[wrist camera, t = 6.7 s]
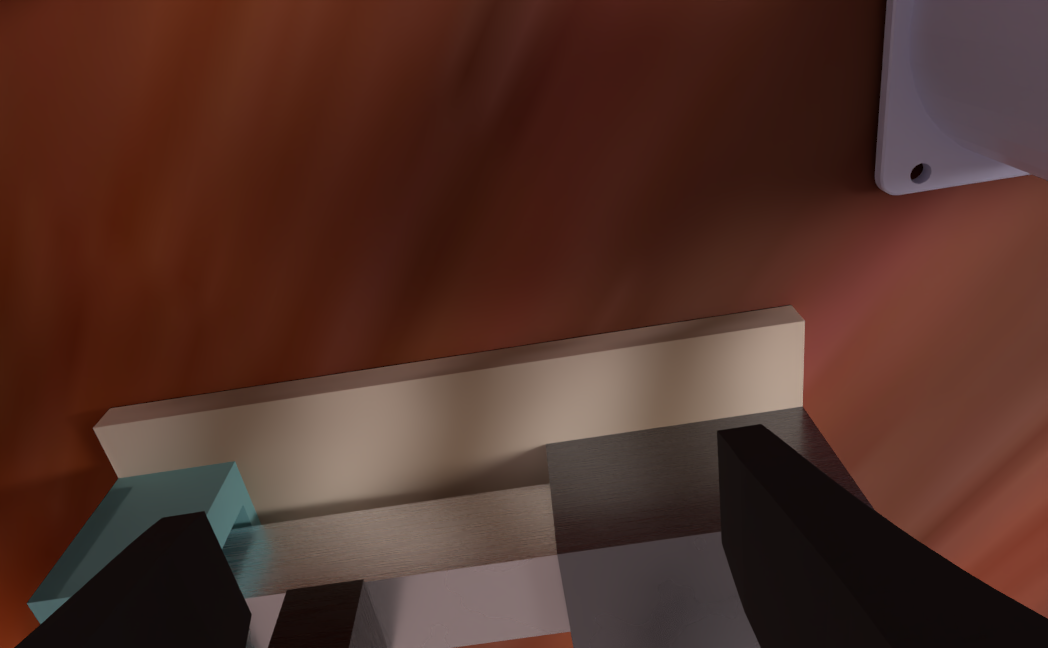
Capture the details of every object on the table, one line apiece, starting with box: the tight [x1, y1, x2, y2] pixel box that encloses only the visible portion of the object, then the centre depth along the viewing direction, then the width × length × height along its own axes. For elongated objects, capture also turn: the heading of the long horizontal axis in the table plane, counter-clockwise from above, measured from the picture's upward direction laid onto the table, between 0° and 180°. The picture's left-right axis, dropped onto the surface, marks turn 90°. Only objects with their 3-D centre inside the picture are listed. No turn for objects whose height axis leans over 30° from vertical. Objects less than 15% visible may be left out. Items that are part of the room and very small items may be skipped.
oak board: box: [93, 305, 805, 525], centre depth 22 cm, size 20×10×1 cm, turn 99°
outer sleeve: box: [546, 406, 874, 648], centre depth 20 cm, size 8×4×4 cm, turn 99°
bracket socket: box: [27, 461, 261, 624], centre depth 20 cm, size 4×6×5 cm, turn 9°
